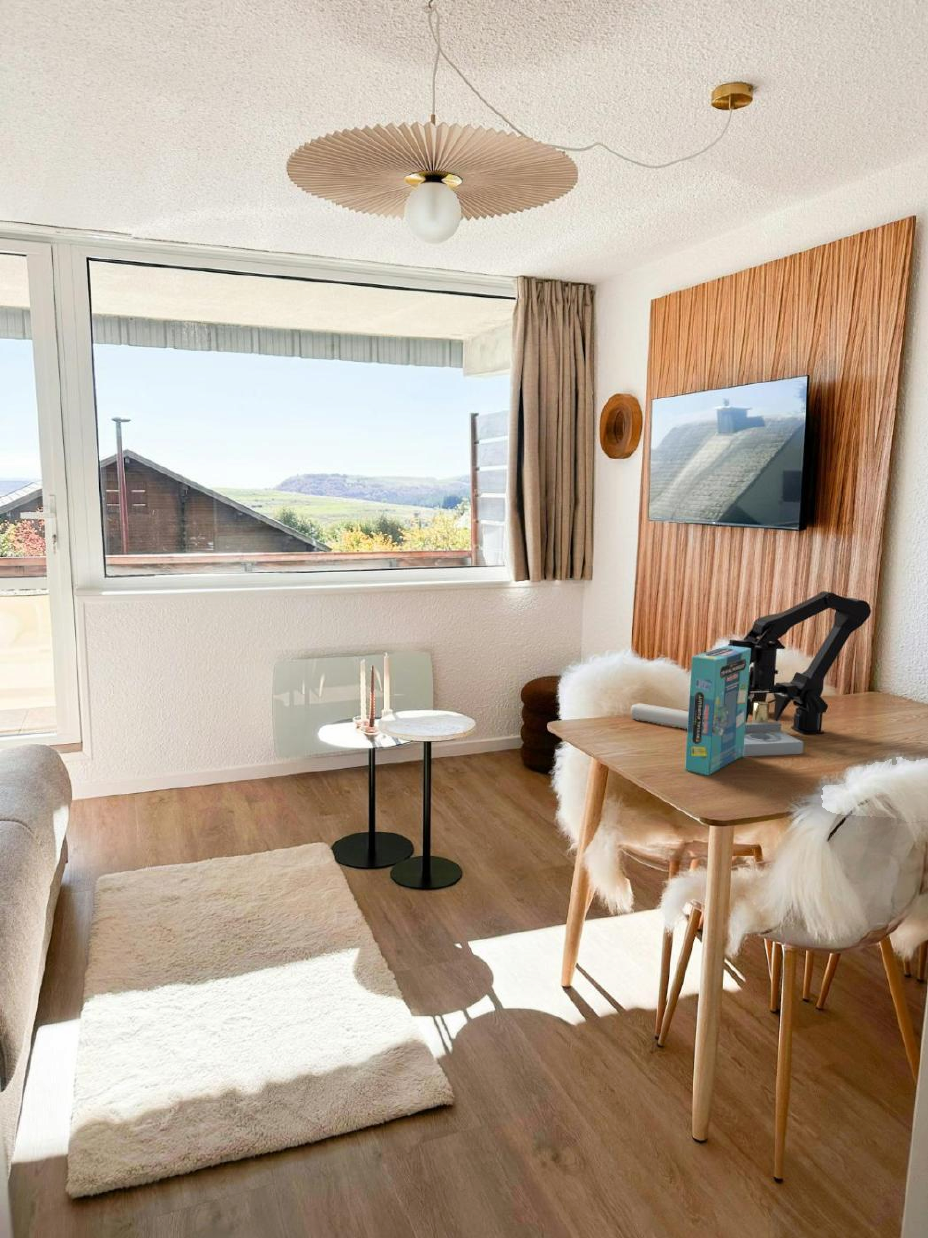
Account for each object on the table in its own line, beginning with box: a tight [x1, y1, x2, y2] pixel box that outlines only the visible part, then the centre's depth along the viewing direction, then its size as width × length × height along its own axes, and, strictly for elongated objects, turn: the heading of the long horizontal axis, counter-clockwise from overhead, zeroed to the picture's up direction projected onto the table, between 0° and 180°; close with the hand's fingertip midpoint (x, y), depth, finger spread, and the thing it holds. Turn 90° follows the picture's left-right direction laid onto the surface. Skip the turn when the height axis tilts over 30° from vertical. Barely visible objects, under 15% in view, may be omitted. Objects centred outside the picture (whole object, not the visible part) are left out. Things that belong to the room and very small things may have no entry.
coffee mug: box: [748, 685, 775, 716], centre depth 256 cm, size 12×9×10 cm
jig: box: [742, 721, 804, 757], centre depth 220 cm, size 16×12×5 cm
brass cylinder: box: [751, 701, 770, 723], centre depth 235 cm, size 4×4×8 cm
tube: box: [629, 702, 689, 730], centre depth 240 cm, size 5×5×25 cm
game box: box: [684, 644, 751, 776], centre depth 205 cm, size 20×6×27 cm, turn 141°
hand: (760, 721), depth 235 cm, fingers open, 9 cm apart
